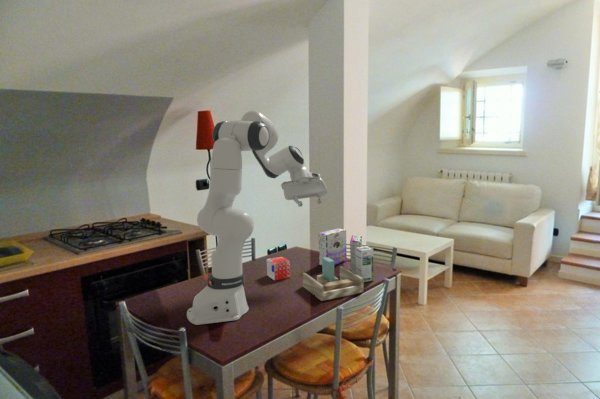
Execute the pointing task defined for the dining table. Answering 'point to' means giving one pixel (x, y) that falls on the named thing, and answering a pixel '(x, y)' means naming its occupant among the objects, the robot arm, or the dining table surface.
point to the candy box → (333, 245)
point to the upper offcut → (337, 285)
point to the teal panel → (328, 269)
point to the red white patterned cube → (278, 268)
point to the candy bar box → (354, 250)
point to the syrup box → (364, 263)
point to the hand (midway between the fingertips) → (310, 204)
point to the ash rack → (318, 288)
